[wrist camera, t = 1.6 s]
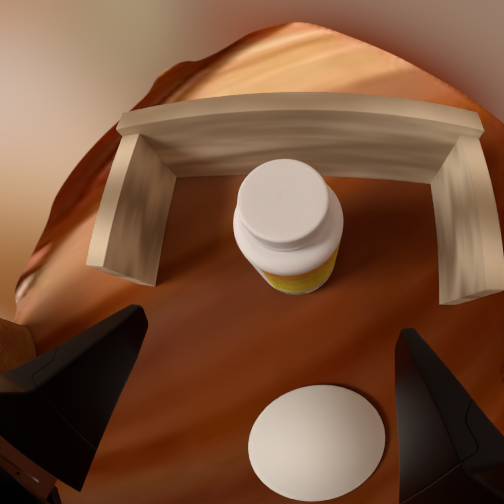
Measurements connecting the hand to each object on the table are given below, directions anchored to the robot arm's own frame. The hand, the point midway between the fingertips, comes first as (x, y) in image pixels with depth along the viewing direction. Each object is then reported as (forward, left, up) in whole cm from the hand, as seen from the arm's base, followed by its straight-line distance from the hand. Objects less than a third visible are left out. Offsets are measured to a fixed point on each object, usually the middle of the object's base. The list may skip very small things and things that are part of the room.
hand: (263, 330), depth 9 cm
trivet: (-9, +1, -12) cm, 15 cm away
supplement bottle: (+5, -2, -12) cm, 13 cm away
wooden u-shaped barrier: (+8, -3, -12) cm, 14 cm away
